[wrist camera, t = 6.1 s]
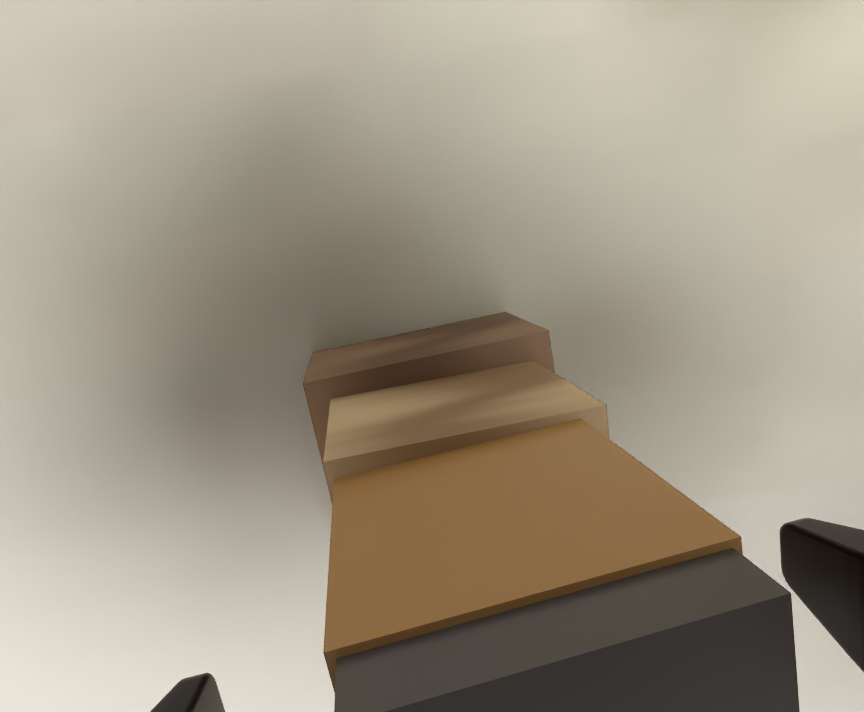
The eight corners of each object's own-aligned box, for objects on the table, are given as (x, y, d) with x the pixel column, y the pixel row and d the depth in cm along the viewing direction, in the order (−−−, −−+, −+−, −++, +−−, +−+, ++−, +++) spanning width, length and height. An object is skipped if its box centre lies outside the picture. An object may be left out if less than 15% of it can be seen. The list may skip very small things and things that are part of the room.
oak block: (534, 360, 14) (606, 405, 10) (556, 543, 15) (629, 647, 11) (330, 398, 13) (322, 461, 9) (368, 586, 14) (375, 711, 11)
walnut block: (504, 311, 18) (548, 330, 14) (532, 487, 19) (580, 548, 15) (312, 352, 17) (302, 383, 13) (355, 530, 18) (357, 606, 14)
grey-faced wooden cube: (581, 417, 10) (799, 580, 5) (613, 630, 11) (824, 938, 6) (333, 478, 10) (318, 719, 5) (389, 695, 10) (425, 1083, 6)
